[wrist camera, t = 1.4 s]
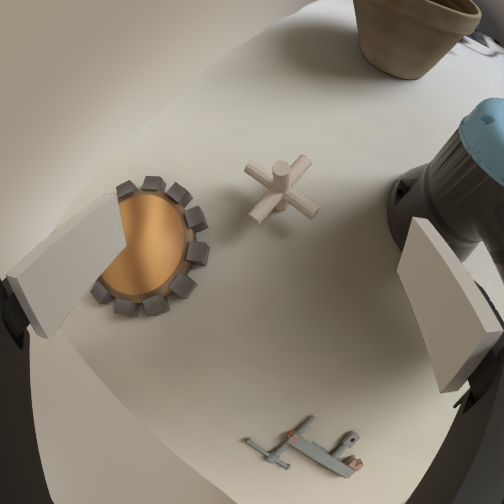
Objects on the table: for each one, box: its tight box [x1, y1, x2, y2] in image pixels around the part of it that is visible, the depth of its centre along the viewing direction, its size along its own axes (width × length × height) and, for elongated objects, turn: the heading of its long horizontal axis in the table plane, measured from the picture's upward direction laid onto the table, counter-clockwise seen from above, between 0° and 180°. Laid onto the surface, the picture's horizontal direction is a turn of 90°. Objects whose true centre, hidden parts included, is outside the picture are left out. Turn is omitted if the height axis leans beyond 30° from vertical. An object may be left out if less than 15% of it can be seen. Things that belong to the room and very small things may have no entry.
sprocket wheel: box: [91, 176, 210, 317], centre depth 37 cm, size 20×20×2 cm
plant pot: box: [353, 0, 481, 79], centre depth 33 cm, size 25×25×22 cm
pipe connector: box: [244, 155, 320, 225], centre depth 33 cm, size 10×10×10 cm
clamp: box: [245, 416, 363, 478], centre depth 30 cm, size 15×2×10 cm
